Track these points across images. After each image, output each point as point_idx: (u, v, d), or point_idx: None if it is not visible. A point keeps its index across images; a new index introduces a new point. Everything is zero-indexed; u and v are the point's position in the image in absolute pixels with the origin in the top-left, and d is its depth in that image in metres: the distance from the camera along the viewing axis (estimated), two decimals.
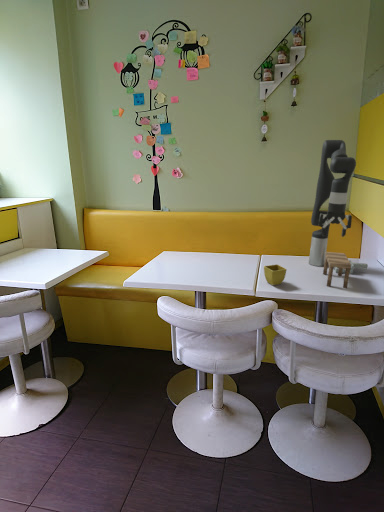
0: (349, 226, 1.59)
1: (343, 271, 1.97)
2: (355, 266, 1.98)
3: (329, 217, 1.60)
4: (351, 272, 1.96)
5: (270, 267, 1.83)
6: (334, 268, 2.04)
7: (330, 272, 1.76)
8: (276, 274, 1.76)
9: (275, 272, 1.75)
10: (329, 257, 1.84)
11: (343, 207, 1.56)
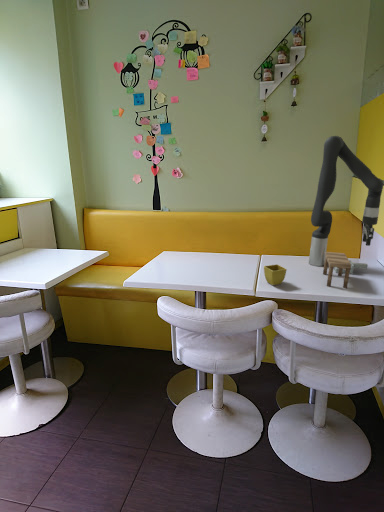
0: None
1: (343, 271, 1.97)
2: (355, 266, 1.98)
3: None
4: (351, 272, 1.96)
5: (270, 267, 1.83)
6: (334, 268, 2.04)
7: (330, 272, 1.76)
8: (276, 274, 1.76)
9: (275, 272, 1.75)
10: (329, 257, 1.84)
11: None
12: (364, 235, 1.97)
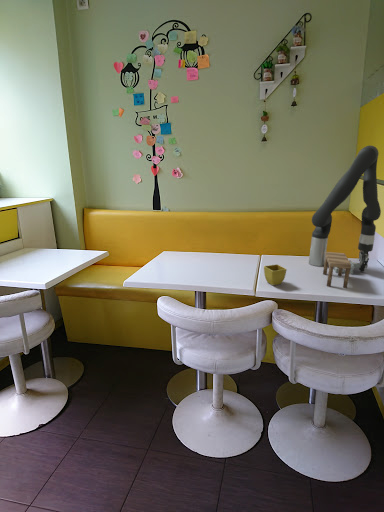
0: None
1: (343, 271, 1.97)
2: (355, 266, 1.98)
3: None
4: (351, 272, 1.96)
5: (270, 267, 1.83)
6: (334, 268, 2.04)
7: (330, 272, 1.76)
8: (276, 274, 1.76)
9: (275, 272, 1.75)
10: (329, 257, 1.84)
11: None
12: (361, 263, 1.99)
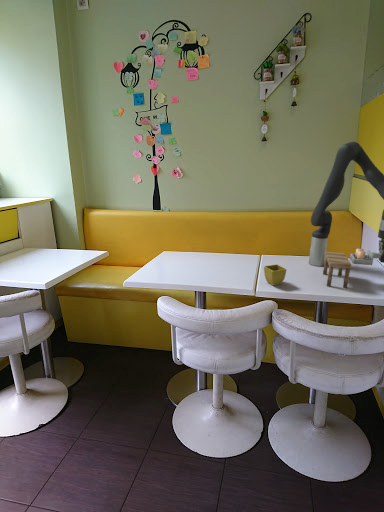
0: None
1: (361, 262, 1.76)
2: (375, 256, 1.77)
3: None
4: (370, 263, 1.75)
5: (270, 267, 1.83)
6: (351, 259, 1.83)
7: (330, 272, 1.76)
8: (276, 274, 1.76)
9: (275, 272, 1.75)
10: (329, 257, 1.84)
11: None
12: (381, 253, 1.78)
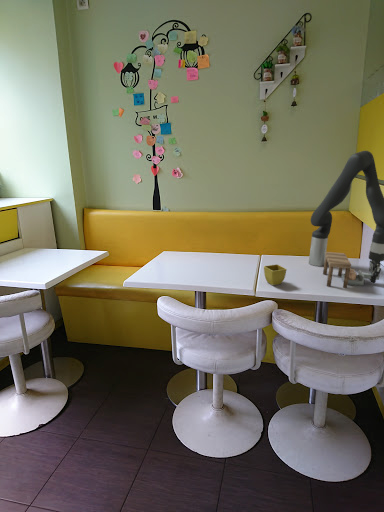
0: None
1: (352, 282, 1.80)
2: (365, 277, 1.81)
3: None
4: (361, 284, 1.79)
5: (270, 267, 1.83)
6: (342, 279, 1.87)
7: (330, 272, 1.76)
8: (276, 274, 1.76)
9: (275, 272, 1.75)
10: (329, 257, 1.84)
11: None
12: (371, 273, 1.82)
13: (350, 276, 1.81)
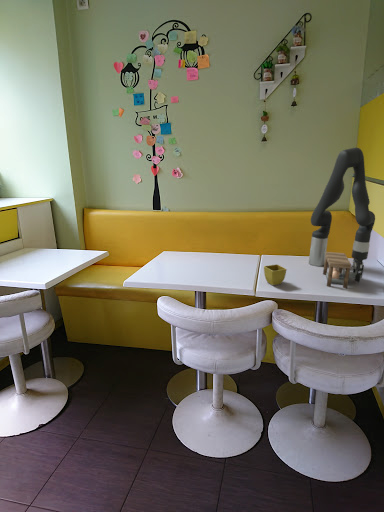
0: None
1: (336, 281, 1.82)
2: (349, 276, 1.83)
3: None
4: None
5: (270, 267, 1.83)
6: None
7: (330, 272, 1.76)
8: (276, 274, 1.76)
9: (275, 272, 1.75)
10: (329, 257, 1.84)
11: None
12: (354, 270, 1.86)
13: (333, 275, 1.83)
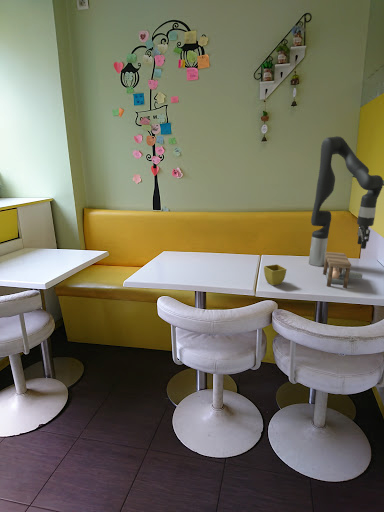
0: None
1: (336, 281, 1.82)
2: (349, 276, 1.83)
3: None
4: None
5: (270, 267, 1.83)
6: None
7: (330, 272, 1.76)
8: (276, 274, 1.76)
9: (275, 272, 1.75)
10: (329, 257, 1.84)
11: None
12: (359, 237, 1.81)
13: (333, 275, 1.83)
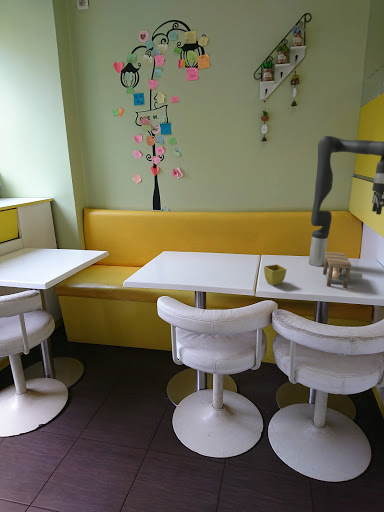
0: None
1: (336, 281, 1.82)
2: (349, 276, 1.83)
3: None
4: None
5: (270, 267, 1.83)
6: None
7: (330, 272, 1.76)
8: (276, 274, 1.76)
9: (275, 272, 1.75)
10: (329, 257, 1.84)
11: None
12: (374, 204, 1.86)
13: (333, 275, 1.83)
